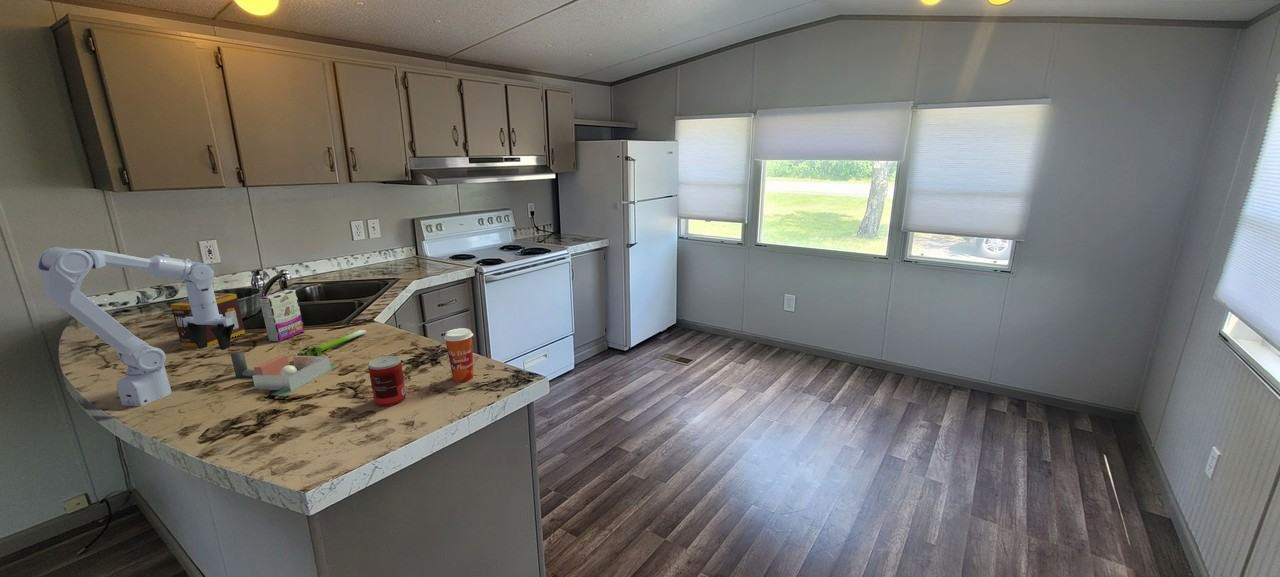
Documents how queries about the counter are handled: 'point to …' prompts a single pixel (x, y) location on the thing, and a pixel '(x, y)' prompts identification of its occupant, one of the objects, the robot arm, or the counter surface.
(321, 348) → the leek
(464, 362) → the paper cup
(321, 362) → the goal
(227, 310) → the supplement box
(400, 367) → the canned food
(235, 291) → the bundt pan
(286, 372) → the ball
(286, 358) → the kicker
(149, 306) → the counter surface
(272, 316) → the candy bar box
